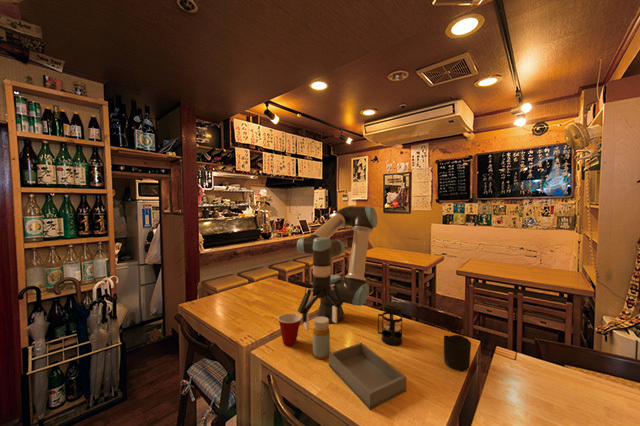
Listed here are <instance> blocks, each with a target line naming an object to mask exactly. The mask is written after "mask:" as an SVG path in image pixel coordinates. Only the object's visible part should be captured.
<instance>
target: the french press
mask: <svg viewBox="0 0 640 426" xmlns="http://www.w3.org/2000/svg"><path fill="white" fill-rule="evenodd" d="M387 293H388V294H389V295H391V301H390V300H388V301H387V300H386V301H384V302H382V306H383V309H382V310H384V312H382V313H378V314H377V334H379V335H381V342H382V343H383V344H385V345H387V346H391V347H399V346H402V344H403V315H402V314H401V313H400V312H401V310H402V309H403V308H404V306H403V304H402V303H400V302H398V301H394V296H395V295H398V292H397V291H394V290H389V291H387ZM386 315H389V318H388V317H386ZM394 315H395V316H398V317H400V318H398V319H397V318H395V319H394ZM380 317H382V318H381V319H382V321H381V323H382V325H381V331H379V330H380ZM384 321H386V322H385V323H384ZM398 323H401V325H399V324H398Z"/></svg>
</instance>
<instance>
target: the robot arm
mask: <svg viewBox="0 0 640 426" xmlns="http://www.w3.org/2000/svg"><path fill="white" fill-rule="evenodd" d="M377 225H378V214H377V211H376V209H375V208H374V207H373V206H367V205H366V206H362V205H361V206H354V205H353V206H345V207H342V208H340V209H338V210H336V211H335V212H334V213H332V214H331V215H330V217H329V219H328V220H327V221H325V222H324V223H323V224H322V225H321V226H319V228H317V229H316V230H315V231H314V232H312V233H310V235H309V236H307V237H305V236H304V237H300V238H299V239H298V240H297V243H296V249H297V252H298V253H300V254H305V255H312V287H311V288H309V287H305V291H304V295H303V296H302V299H301V302H300V304H299V307H298V309H297V312H298V313H299V314H301V321H302V322H303V328H304V329H305V330H306V331H307V332H308V331H309V328H310V326H309V324H310V318H309V317H310V315H309V311H310V310H311V308H312V307H313V305H314V304H315V302H316V301H317V300H318V299H320V300H319V301H320V303H319V306H318V310H317V312H316V317H320V316H323V317H327V318H328V319H329V324H338V323H341V322H343V321H344V319H345V313H344V310H343V307H342V305H343V304H350V305H353V306H359V307H362V306H363V305H364V304H365V303H366V302H367V299H368V297H369V294H370V285H369V284H368V283H367V279H366V277H365V270H366V262H367V255H368V247H369V240H370V234H371V233H372V232H373V230H374V228H377ZM344 227H351V229H352V231H353V238H352V245H351V252H350V259H349V266H348V273H347V274H346V275H345V276H344V279H342V276H341V275H339V274H331V272H332V270H331V269H332V268H331V264H332V263H331V261H332V258H336V257H339V256H340V255H343V253H344V252H345V244H344V242H343V241H342V240H340V239H332V240H331V237H332V236H333V235H334V234H335V233H336V232H338V230H339V229H342V228H344Z"/></svg>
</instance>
